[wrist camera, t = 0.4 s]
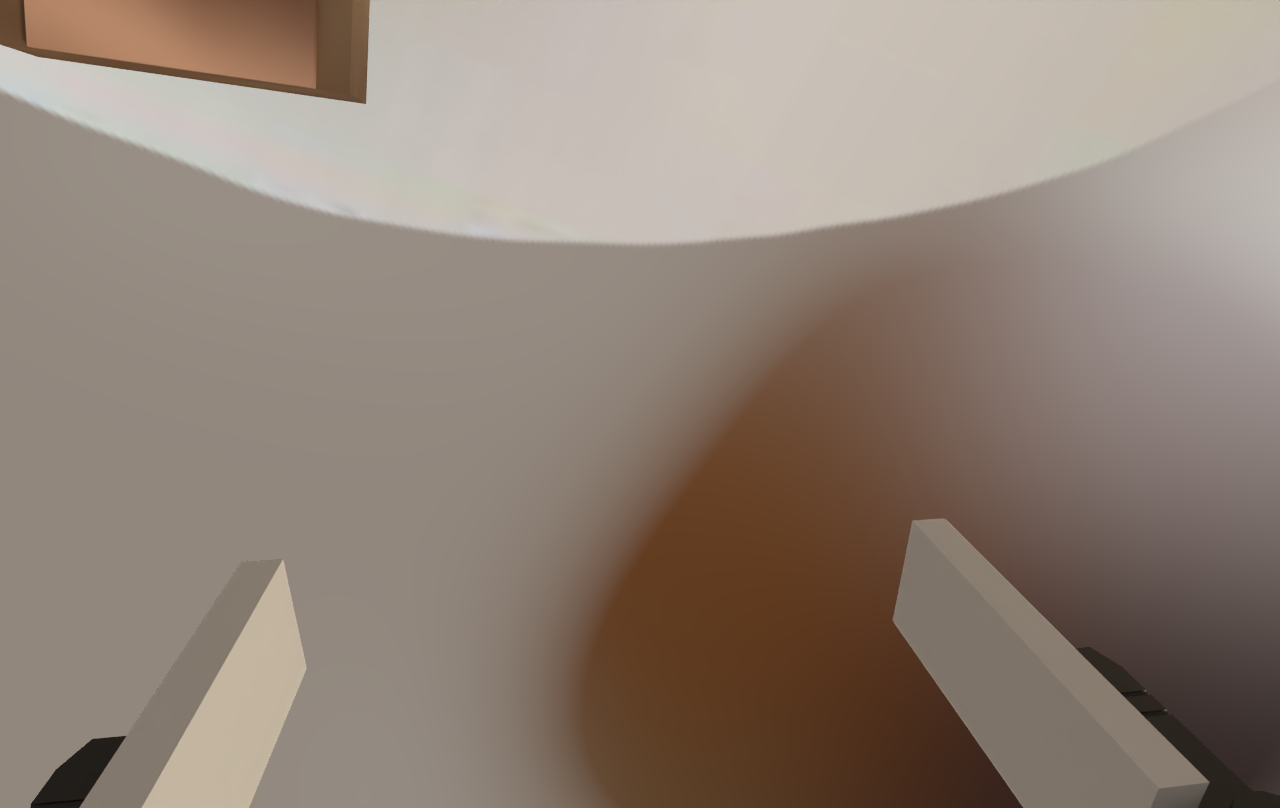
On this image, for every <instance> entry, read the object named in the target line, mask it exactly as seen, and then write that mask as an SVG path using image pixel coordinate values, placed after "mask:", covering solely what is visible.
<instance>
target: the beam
mask: <svg viewBox="0 0 1280 808" xmlns="http://www.w3.org/2000/svg"><path fill="white" fill-rule="evenodd" d="M369 3H370V0H0V44H1V45H4V46H7V47H10V48H13V49H16V50H19V51H22V52H25V53H28V54H31V55H34V56H37V57H43V58H50V59H57V60H64V61H71V62H78V63H85V64H92V65H99V66H106V67H113V68H120V69H127V70H134V71H141V72H148V73H155V74H162V75H168V76H175V77H182V78H189V79H196V80H203V81H210V82H217V83H224V84H231V85H238V86H245V87H252V88H259V89H266V90H273V91H280V92H287V93H294V94H301V95H308V96H315V97H322V98H329V99H336V100H343V101H350V102H357V103H364V104H366V88H367V60H368V32H369Z"/></svg>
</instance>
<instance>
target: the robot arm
mask: <svg viewBox="0 0 1280 808" xmlns="http://www.w3.org/2000/svg"><path fill="white" fill-rule="evenodd" d="M893 622H894V623H895V625H896V626H897V628H898V629H899V630H900V632H901V633H902V634H903V636H904V638H905V639H906V640H907V642H908V643H909V645H910V646H911V647H912V649H913V650H914V652H915V653H916V655H917V656H918V658H919V659H920V660H921V662H922V663H923V665H924V666H925V668H926V669H927V670H928V672H929V673H930V675H931V676H932V677H933V679H934V680H935V682H936V683H937V684H938V686H939V687H940V689H941V690H942V692H943V693H944V695H945V696H946V698H947V699H948V700H949V702H950V703H951V705H952V706H953V708H954V709H955V710H956V712H957V713H958V715H959V716H960V718H961V719H962V720H963V722H964V723H965V725H966V726H967V728H968V729H969V731H970V732H971V733H972V735H973V736H974V738H975V739H976V740H977V742H978V743H979V745H980V746H981V748H982V749H983V750H984V752H985V753H986V755H987V756H988V757H989V759H990V760H991V762H992V763H993V765H994V766H995V768H996V769H997V771H998V772H999V773H1000V775H1001V776H1002V778H1003V779H1004V781H1005V782H1006V783H1007V785H1008V786H1009V788H1010V789H1011V791H1012V792H1013V793H1014V795H1015V796H1016V798H1017V799H1018V801H1019V802H1020V803H1021V805H1022V806H1023V808H1280V796H1279V795H1275V794H1271V793H1268V792H1264V791H1253V790H1252V789H1250V788H1249V787H1248V786H1247V785H1246V784H1245V783H1244V782H1243V781H1242V780H1241V779H1240V778H1239V777H1237V776H1236V775H1235V774H1234V773H1233V772H1232V771H1231V770H1230V769H1229V768H1228V767H1227V766H1226V765H1225V764H1224V763H1223V762H1222V761H1221V760H1220V759H1219V758H1217V757H1216V756H1215V755H1214V754H1213V753H1212V752H1211V751H1210V750H1209V749H1208V748H1207V747H1206V746H1205V745H1204V744H1203V743H1201V741H1200V740H1198V739H1197V738H1196V737H1195V736H1194V735H1193V734H1192V733H1191V732H1190V731H1189V730H1188V729H1187V728H1186V727H1185V726H1184V725H1183V724H1181V722H1180V721H1178V720H1177V719H1176V718H1175V717H1174V716H1173V715H1169V714H1168V713H1167V709H1166V708H1165V707H1164V706H1163V705H1162V704H1161V703H1159V702H1158V701H1157V700H1156V699H1155V698H1154V697H1153V696H1152V695H1148V694H1147V692H1146V689H1145V688H1144V687H1143V686H1142V685H1140V684H1139V683H1138V682H1137V681H1136V680H1135V679H1134V678H1133V677H1132V676H1131V675H1130V674H1129V673H1128V672H1127V671H1126V670H1125V669H1124V668H1123V667H1121V666H1120V665H1118V664H1117V663H1115V662H1113V661H1112V660H1110V659H1109V658H1107V657H1105V656H1104V655H1102V654H1100V653H1099V652H1097V651H1096V650H1094V649H1092V648H1091V647H1085V648H1074V647H1073V646H1072V645H1071V644H1070V643H1069V642H1068V641H1067V640H1066V639H1065V638H1064V637H1063V636H1062V635H1061V634H1060V633H1059V632H1058V631H1057V630H1056V629H1055V628H1054V627H1053V626H1052V625H1051V624H1050V623H1049V622H1048V621H1047V620H1046V619H1045V618H1044V617H1043V616H1042V615H1041V614H1040V613H1039V612H1038V611H1037V610H1036V609H1035V608H1034V607H1033V606H1032V605H1031V604H1030V603H1029V602H1028V601H1027V600H1026V599H1025V598H1024V597H1023V596H1022V595H1021V594H1020V593H1019V592H1018V591H1017V590H1016V589H1015V588H1014V587H1013V586H1012V585H1011V584H1010V583H1009V582H1008V581H1007V580H1006V579H1005V578H1004V577H1003V576H1002V575H1001V574H1000V573H999V572H998V571H997V570H996V569H995V568H994V567H993V566H992V565H991V564H990V563H989V562H988V561H987V560H986V559H985V558H984V557H983V556H982V555H981V554H980V553H979V552H978V551H977V550H976V549H975V548H974V547H973V546H972V545H971V544H970V543H969V542H968V541H967V540H966V539H965V538H964V537H963V536H962V535H961V534H960V533H959V532H958V531H957V530H956V529H955V528H954V527H953V526H952V525H951V524H950V523H949V522H948V521H947V520H946V519H931V520H914V521H912V526H911V531H910V536H909V542H908V547H907V552H906V557H905V562H904V567H903V572H902V577H901V582H900V587H899V592H898V597H897V602H896V607H895V612H894V617H893ZM306 669H307V668H306V664H305V659H304V654H303V650H302V645H301V640H300V636H299V631H298V626H297V622H296V617H295V613H294V608H293V603H292V598H291V594H290V590H289V584H288V580H287V575H286V570H285V566H284V561H283V559H278V560H261V561H245V562H241V563H240V564H239V566H238V568H237V569H236V571H235V572H234V574H233V575H232V577H231V578H230V580H229V581H228V583H227V584H226V586H225V587H224V589H223V590H222V592H221V594H220V595H219V596H218V598H217V599H216V601H215V602H214V604H213V606H212V607H211V609H210V610H209V612H208V613H207V615H206V616H205V618H204V619H203V621H202V622H201V624H200V625H199V627H198V628H197V630H196V632H195V633H194V634H193V636H192V637H191V639H190V640H189V642H188V644H187V645H186V647H185V648H184V650H183V651H182V653H181V654H180V656H179V657H178V659H177V660H176V662H175V663H174V665H173V666H172V668H171V669H170V671H169V672H168V674H167V675H166V677H165V678H164V680H163V682H162V683H161V684H160V686H159V688H158V689H157V691H156V692H155V694H154V695H153V697H152V698H151V700H150V701H149V703H148V704H147V706H146V707H145V709H144V711H143V712H142V713H141V715H140V716H139V718H138V720H137V721H136V723H135V724H134V725H133V727H132V729H131V730H130V732H129V733H128V735H127V736H121V737H110V738H99V739H92V740H91V741H90V742H88V743H87V744H86V745H85V746H84V747H82V748H81V749H80V750H79V751H78V752H76V753H75V754H74V755H73V756H72V757H71V758H69V759H68V760H67V761H66V762H65V763H63V764H62V765H61V766H60V767H59V768H58V769H56V770H55V772H54V773H53V775H52V776H51V777H50V779H49V780H48V782H47V783H46V784H45V786H44V787H43V788H42V790H41V791H40V792H39V794H38V795H37V797H36V798H35V799H34V801H33V802H32V803H31V808H249V806H250V804H251V801H252V799H253V796H254V794H255V792H256V789H257V787H258V784H259V782H260V779H261V777H262V775H263V772H264V770H265V767H266V765H267V762H268V760H269V758H270V755H271V753H272V751H273V748H274V746H275V743H276V741H277V739H278V736H279V734H280V731H281V729H282V726H283V724H284V722H285V719H286V716H287V714H288V712H289V709H290V707H291V705H292V702H293V700H294V697H295V695H296V693H297V690H298V688H299V685H300V683H301V680H302V678H303V676H304V673H305V671H306Z"/></svg>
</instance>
